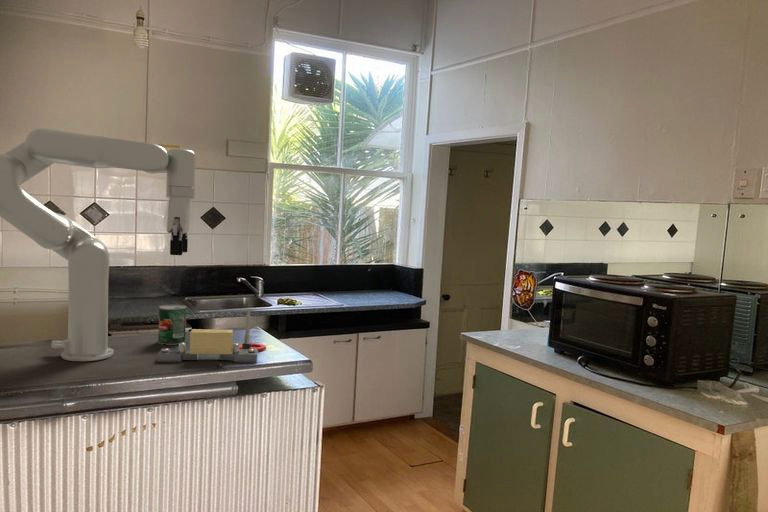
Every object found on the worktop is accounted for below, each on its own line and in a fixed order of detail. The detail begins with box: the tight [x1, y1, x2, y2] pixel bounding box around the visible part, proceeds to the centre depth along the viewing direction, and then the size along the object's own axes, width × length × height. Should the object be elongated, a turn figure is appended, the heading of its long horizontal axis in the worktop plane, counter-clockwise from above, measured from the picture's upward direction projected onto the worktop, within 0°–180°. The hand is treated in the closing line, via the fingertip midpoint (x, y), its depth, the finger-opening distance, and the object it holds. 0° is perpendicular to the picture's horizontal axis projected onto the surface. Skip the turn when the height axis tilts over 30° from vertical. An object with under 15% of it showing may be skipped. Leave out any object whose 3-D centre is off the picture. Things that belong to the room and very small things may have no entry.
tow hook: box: [239, 308, 267, 353], centre depth 174 cm, size 8×13×9 cm
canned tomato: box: [157, 304, 187, 346], centre depth 177 cm, size 8×8×11 cm
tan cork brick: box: [189, 328, 234, 355], centre depth 160 cm, size 11×4×6 cm, turn 101°
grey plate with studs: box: [157, 342, 258, 363], centre depth 161 cm, size 26×6×4 cm, turn 101°
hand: (178, 253), depth 165 cm, fingers open, 9 cm apart
